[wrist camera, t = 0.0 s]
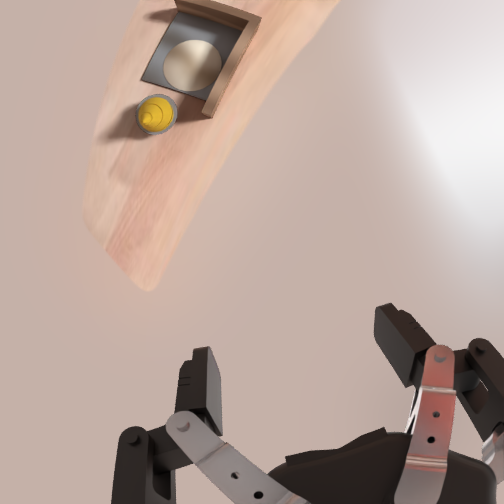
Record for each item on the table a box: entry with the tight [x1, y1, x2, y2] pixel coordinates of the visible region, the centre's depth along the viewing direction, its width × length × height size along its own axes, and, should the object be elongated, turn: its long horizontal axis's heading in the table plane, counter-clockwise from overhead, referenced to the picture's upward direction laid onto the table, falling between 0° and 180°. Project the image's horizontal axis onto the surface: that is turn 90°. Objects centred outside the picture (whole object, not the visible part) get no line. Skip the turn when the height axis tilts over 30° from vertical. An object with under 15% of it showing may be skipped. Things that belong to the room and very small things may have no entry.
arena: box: [142, 0, 262, 118], centre depth 30 cm, size 15×12×5 cm
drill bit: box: [136, 94, 177, 135], centre depth 30 cm, size 5×5×10 cm
